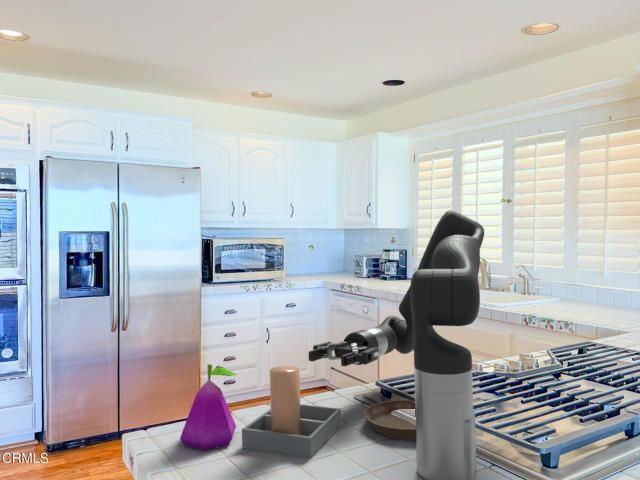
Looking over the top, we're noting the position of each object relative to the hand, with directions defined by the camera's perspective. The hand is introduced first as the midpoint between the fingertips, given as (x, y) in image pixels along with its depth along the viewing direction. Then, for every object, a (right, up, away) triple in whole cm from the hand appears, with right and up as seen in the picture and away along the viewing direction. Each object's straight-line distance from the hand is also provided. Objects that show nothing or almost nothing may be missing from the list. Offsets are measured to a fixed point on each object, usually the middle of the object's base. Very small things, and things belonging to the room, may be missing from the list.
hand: (325, 359), depth 106 cm
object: (+17, -13, -4) cm, 22 cm away
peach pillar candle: (-8, -12, -11) cm, 18 cm away
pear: (-23, -14, -8) cm, 28 cm away
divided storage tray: (-6, -13, -7) cm, 17 cm away
